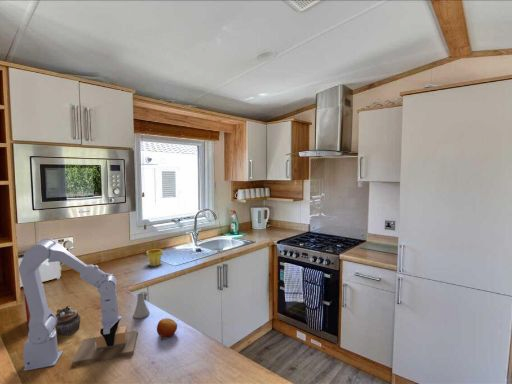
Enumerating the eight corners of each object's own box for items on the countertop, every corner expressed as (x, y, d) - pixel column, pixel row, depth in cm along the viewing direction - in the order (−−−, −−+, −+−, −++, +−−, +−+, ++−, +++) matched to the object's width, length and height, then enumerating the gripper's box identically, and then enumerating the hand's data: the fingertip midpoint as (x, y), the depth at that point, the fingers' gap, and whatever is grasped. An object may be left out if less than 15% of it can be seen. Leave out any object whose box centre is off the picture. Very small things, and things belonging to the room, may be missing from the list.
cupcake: (63, 339, 118) (61, 315, 117) (50, 333, 123) (47, 310, 122) (86, 327, 127) (84, 305, 126) (73, 322, 131) (71, 301, 130)
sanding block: (96, 349, 108) (95, 337, 108) (99, 342, 113) (98, 330, 112) (125, 344, 111) (124, 332, 111) (127, 338, 115) (126, 326, 115)
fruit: (149, 334, 118) (157, 314, 120) (165, 336, 123) (173, 317, 125) (158, 342, 112) (167, 321, 115) (174, 344, 117) (182, 324, 120)
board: (72, 366, 102) (71, 361, 102) (83, 342, 116) (83, 339, 115) (133, 354, 108) (133, 350, 107) (137, 333, 121) (137, 330, 121)
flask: (133, 312, 138) (132, 292, 137) (149, 309, 141) (148, 290, 140) (132, 320, 132) (131, 299, 131) (149, 317, 134) (148, 296, 133)
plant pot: (148, 262, 209) (147, 249, 208) (163, 261, 211) (162, 248, 210) (146, 267, 199) (145, 253, 198) (161, 266, 201) (161, 252, 200)
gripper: (117, 315, 105) (119, 351, 106) (124, 297, 118) (126, 329, 120) (95, 318, 103) (98, 354, 104) (104, 300, 117) (107, 332, 118)
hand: (111, 341), depth 112 cm, fingers closed on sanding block, 4 cm apart
